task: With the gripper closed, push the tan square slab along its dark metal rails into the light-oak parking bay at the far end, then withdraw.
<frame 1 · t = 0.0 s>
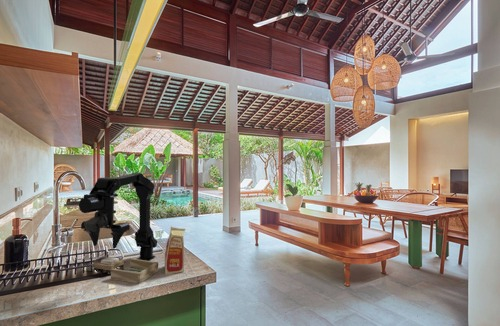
hand: (104, 247, 106), 15 cm above the counter, fingers open, 9 cm apart
milk carton: (174, 269, 123), on the counter
rails: (115, 271, 117), on the counter
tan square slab: (108, 264, 118), point 3 cm above the counter, slide at 0.0 cm
bay: (134, 274, 115), on the counter
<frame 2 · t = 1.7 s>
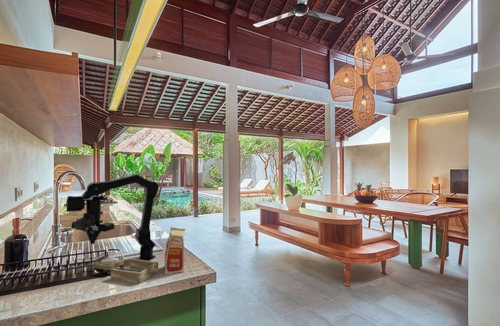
hand: (92, 244, 120), 11 cm above the counter, fingers closed
nothing on the counter moved.
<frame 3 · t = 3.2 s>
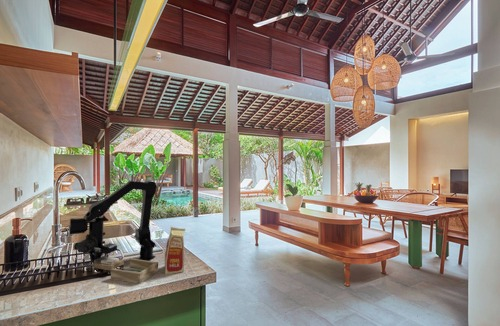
hand: (95, 265, 120), 1 cm above the counter, fingers closed
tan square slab: (108, 264, 118), point 3 cm above the counter, slide at 0.0 cm, touching gripper
everything else where it was.
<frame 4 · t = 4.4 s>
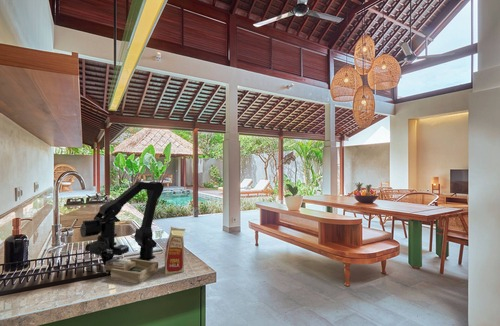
hand: (106, 266, 119), 1 cm above the counter, fingers closed
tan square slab: (120, 266, 117), point 3 cm above the counter, slide at 6.2 cm, touching gripper
everything else where it was.
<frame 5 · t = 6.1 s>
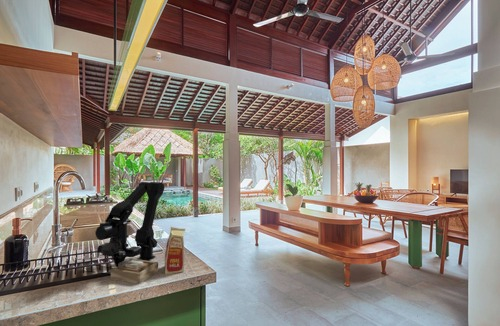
hand: (118, 268, 117), 1 cm above the counter, fingers closed
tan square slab: (132, 267, 115), point 3 cm above the counter, slide at 12.7 cm, touching gripper
everything else where it was.
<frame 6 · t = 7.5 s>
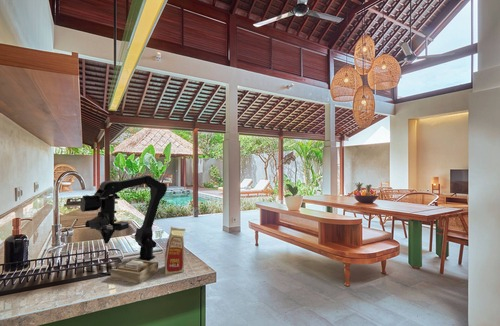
hand: (106, 243, 119), 12 cm above the counter, fingers closed
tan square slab: (132, 267, 115), point 3 cm above the counter, slide at 12.7 cm
everything else where it was.
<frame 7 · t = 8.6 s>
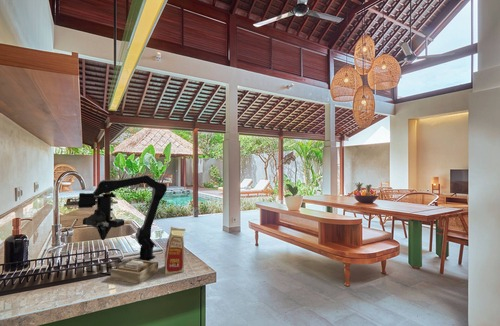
hand: (103, 239, 124), 12 cm above the counter, fingers closed
nothing on the counter moved.
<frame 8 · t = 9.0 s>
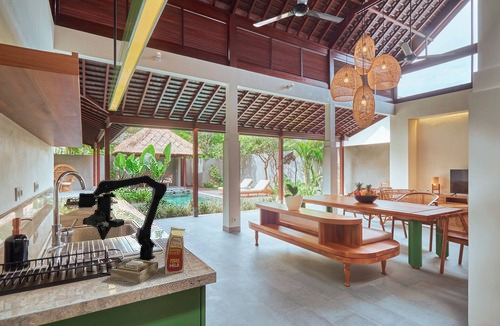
hand: (103, 239, 124), 12 cm above the counter, fingers closed
nothing on the counter moved.
at the end: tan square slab slide at 12.7 cm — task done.
